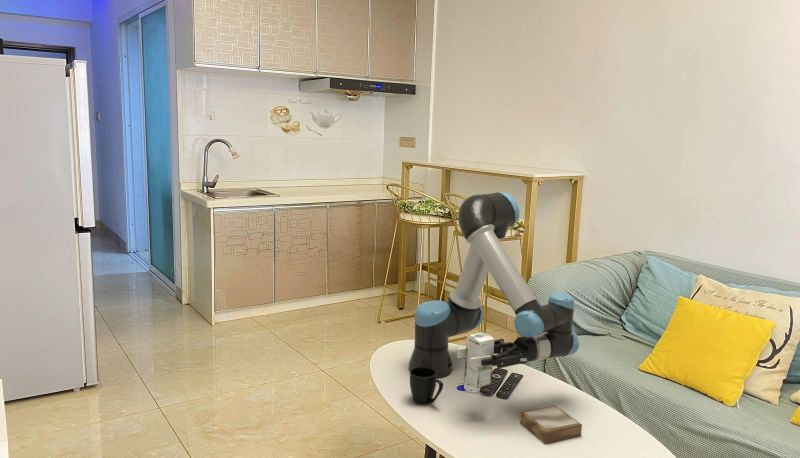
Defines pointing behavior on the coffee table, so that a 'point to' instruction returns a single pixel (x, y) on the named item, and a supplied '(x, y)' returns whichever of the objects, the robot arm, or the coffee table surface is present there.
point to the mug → (424, 385)
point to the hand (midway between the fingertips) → (464, 358)
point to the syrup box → (477, 348)
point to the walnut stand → (550, 424)
